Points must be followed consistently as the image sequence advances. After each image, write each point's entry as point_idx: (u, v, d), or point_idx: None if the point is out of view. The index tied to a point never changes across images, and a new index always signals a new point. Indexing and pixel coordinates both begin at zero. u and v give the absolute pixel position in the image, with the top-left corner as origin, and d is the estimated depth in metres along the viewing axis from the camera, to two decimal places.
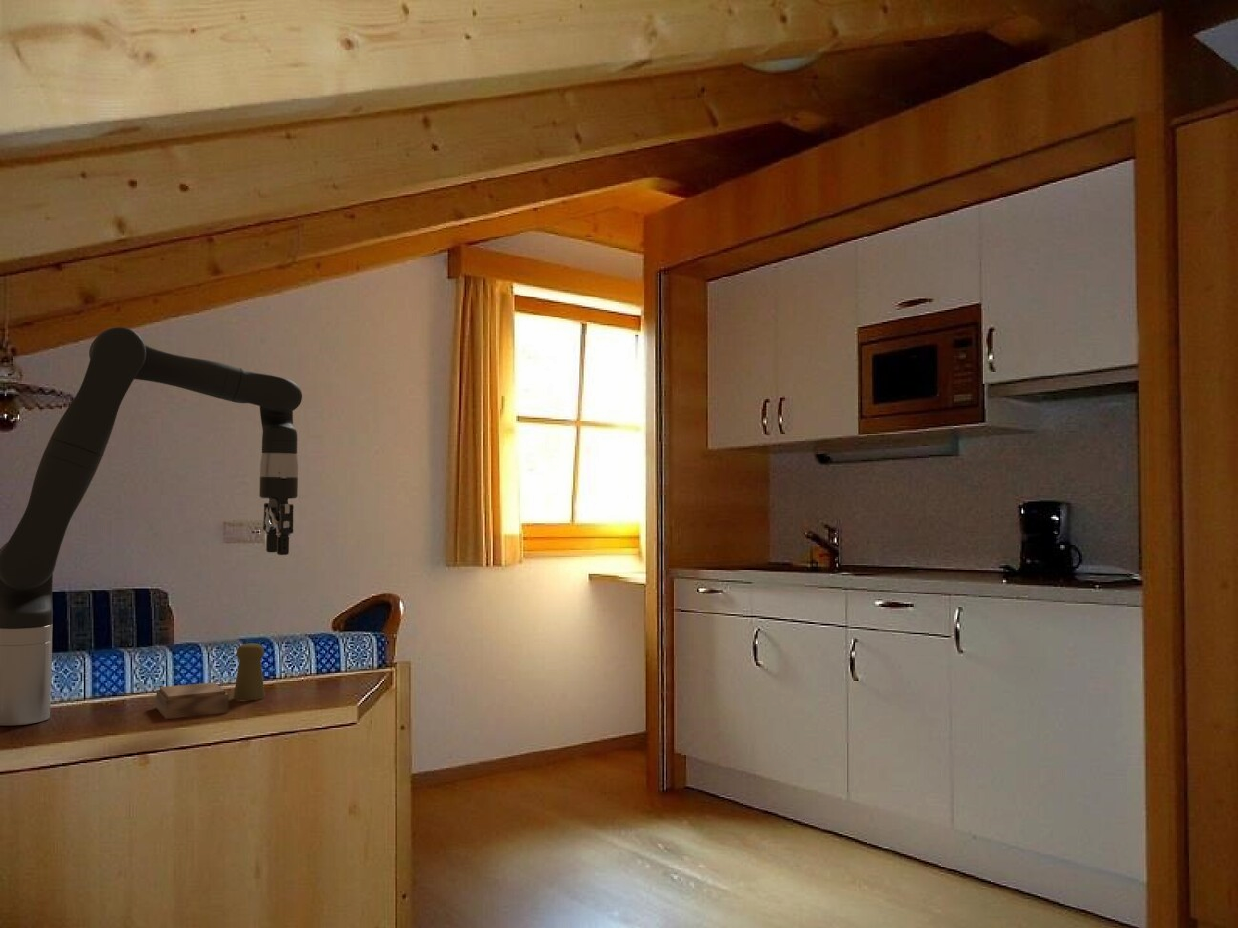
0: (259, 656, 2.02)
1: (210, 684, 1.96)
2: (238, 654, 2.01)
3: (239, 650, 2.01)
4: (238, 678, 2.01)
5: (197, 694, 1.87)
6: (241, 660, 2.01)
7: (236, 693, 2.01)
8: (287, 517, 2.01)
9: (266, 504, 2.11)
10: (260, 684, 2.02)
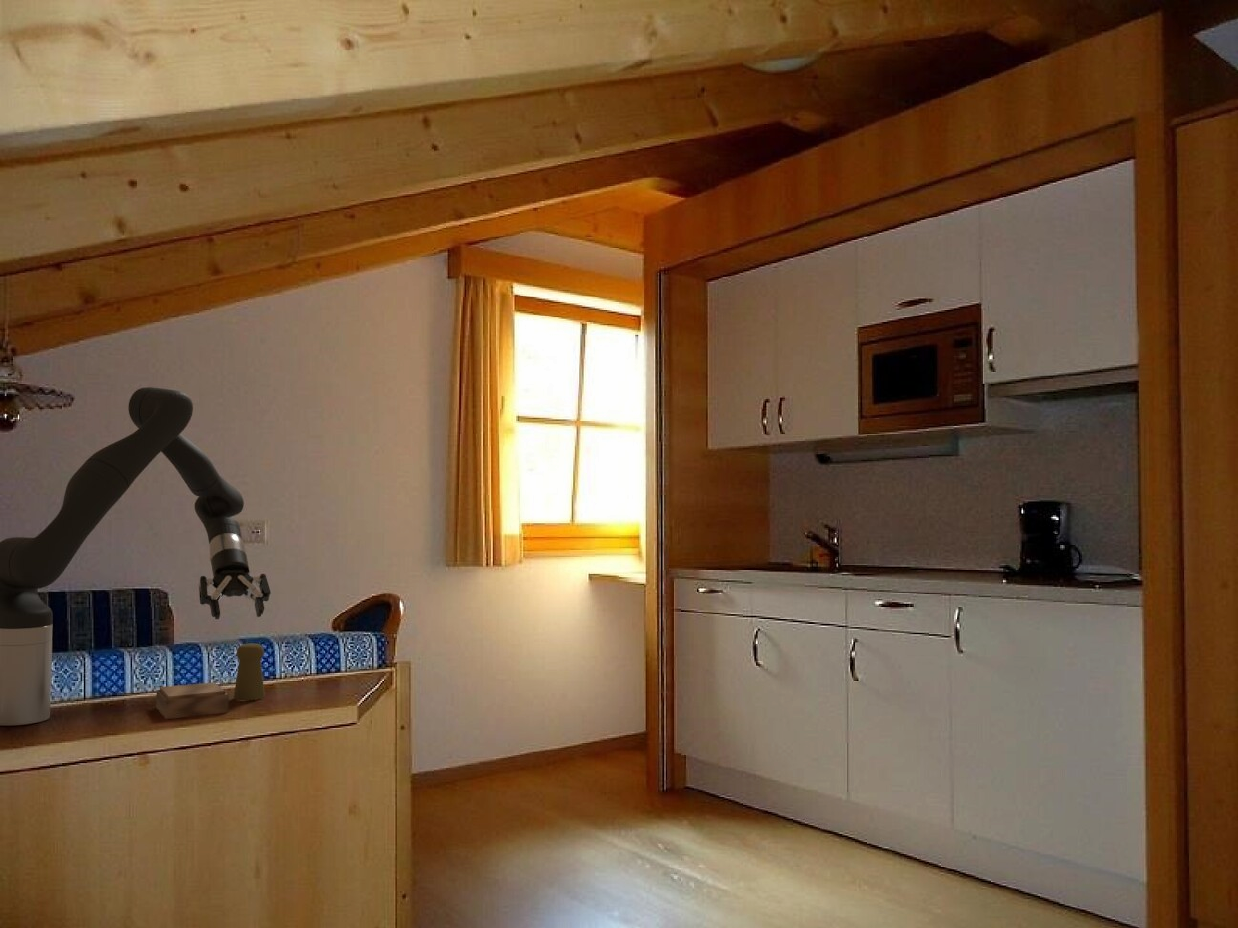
0: (259, 656, 2.02)
1: (210, 684, 1.96)
2: (238, 654, 2.01)
3: (239, 650, 2.01)
4: (238, 678, 2.01)
5: (197, 694, 1.87)
6: (241, 660, 2.01)
7: (236, 693, 2.01)
8: None
9: None
10: (260, 684, 2.02)
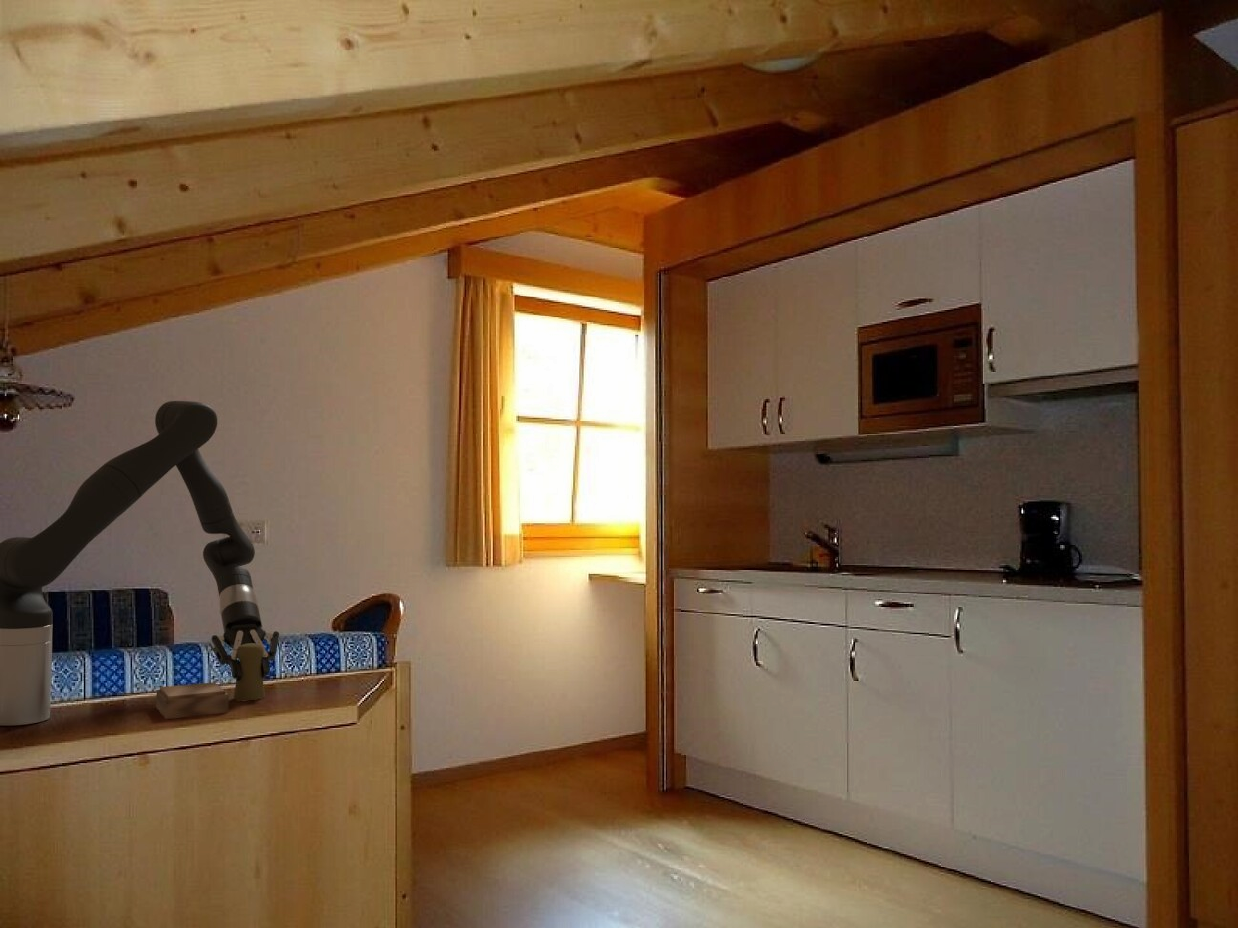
0: (259, 656, 2.02)
1: (210, 684, 1.96)
2: (238, 654, 2.01)
3: (239, 650, 2.01)
4: None
5: (197, 694, 1.87)
6: (241, 660, 2.01)
7: (236, 693, 2.01)
8: None
9: None
10: (260, 684, 2.02)
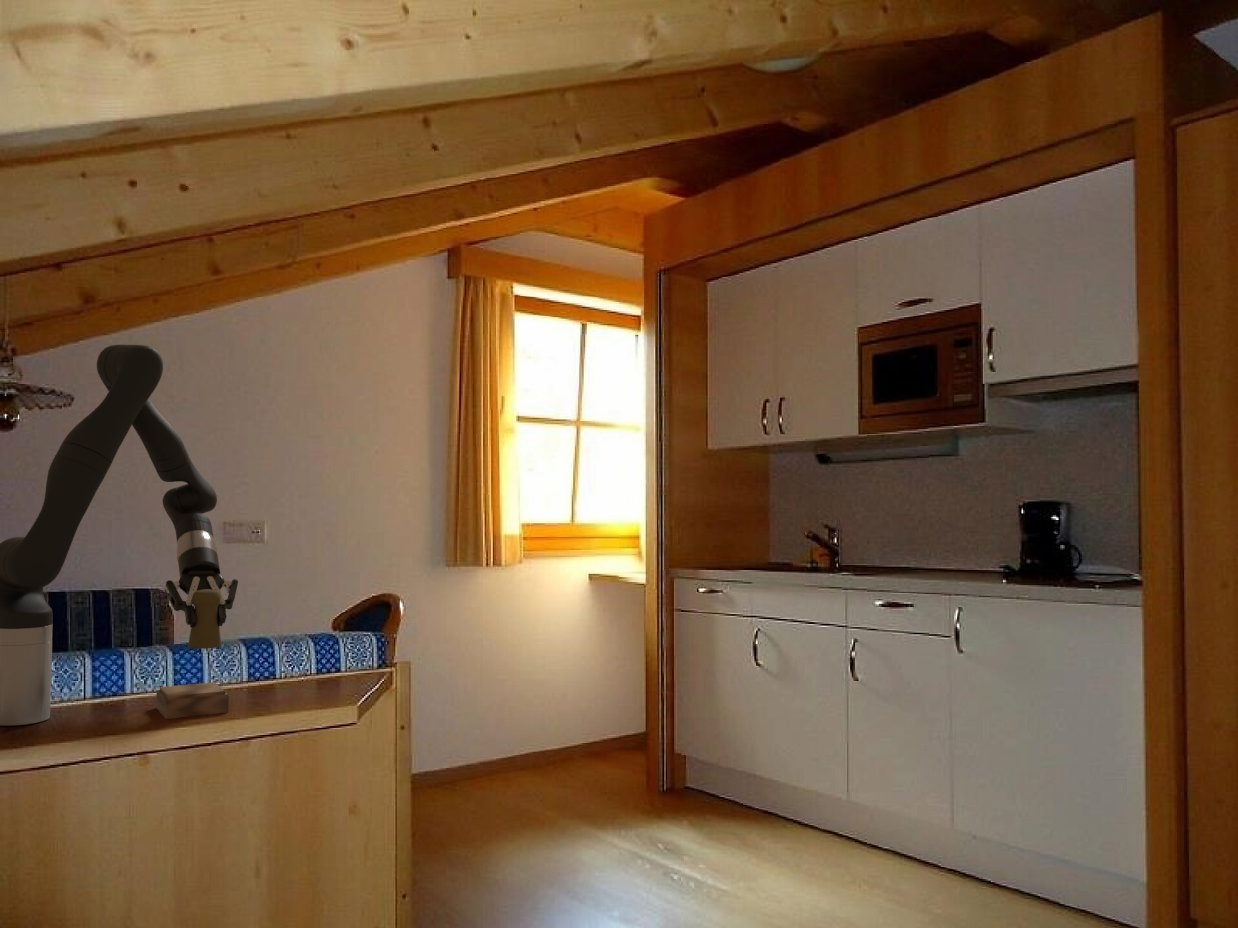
0: (215, 602, 1.93)
1: (210, 684, 1.96)
2: (193, 599, 1.92)
3: (194, 595, 1.93)
4: None
5: (197, 694, 1.87)
6: (196, 606, 1.92)
7: (190, 640, 1.92)
8: None
9: None
10: (216, 632, 1.93)
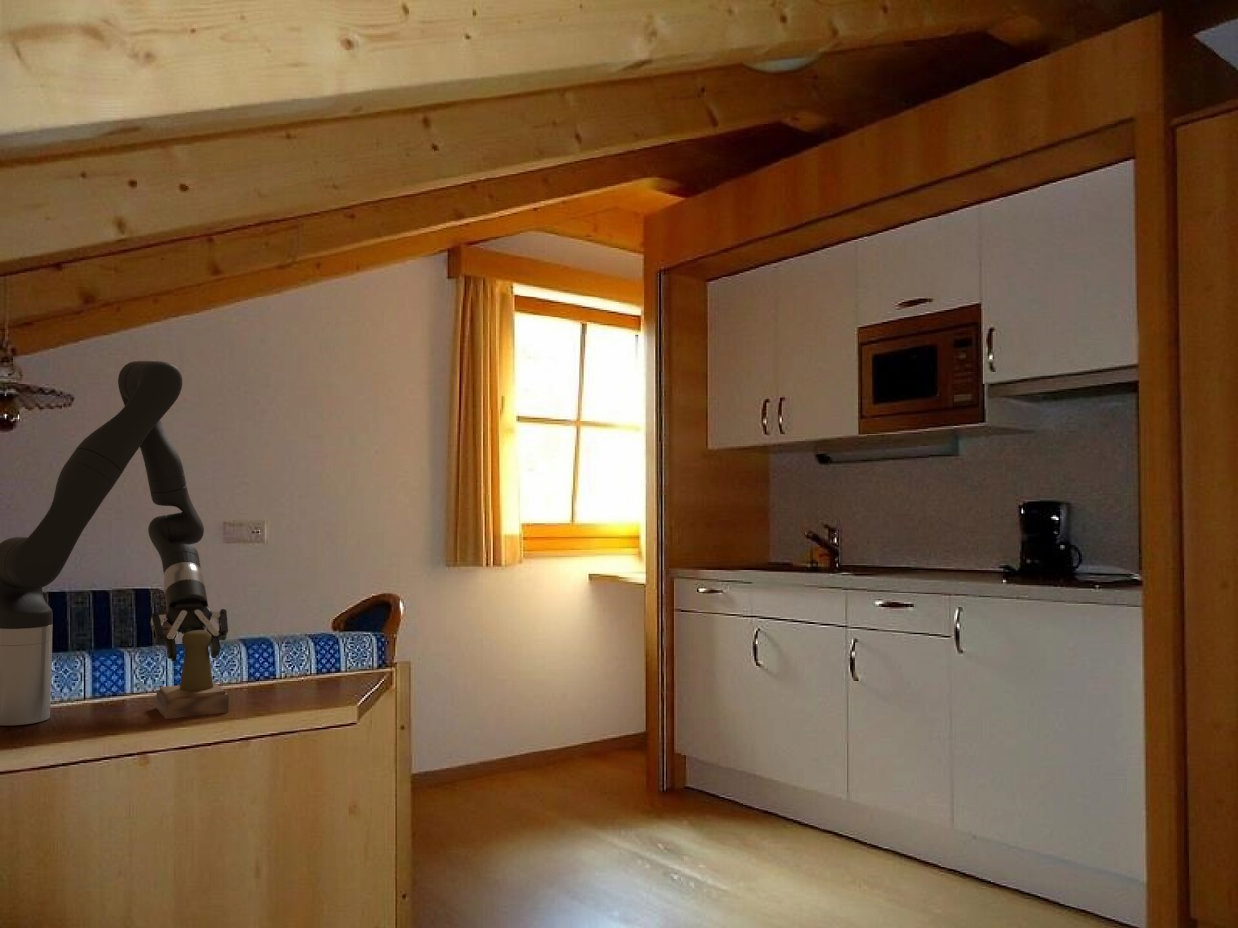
0: (206, 643, 1.92)
1: None
2: (183, 641, 1.91)
3: (184, 637, 1.91)
4: (184, 667, 1.91)
5: (197, 694, 1.87)
6: (187, 648, 1.91)
7: (182, 682, 1.90)
8: None
9: None
10: (208, 673, 1.92)
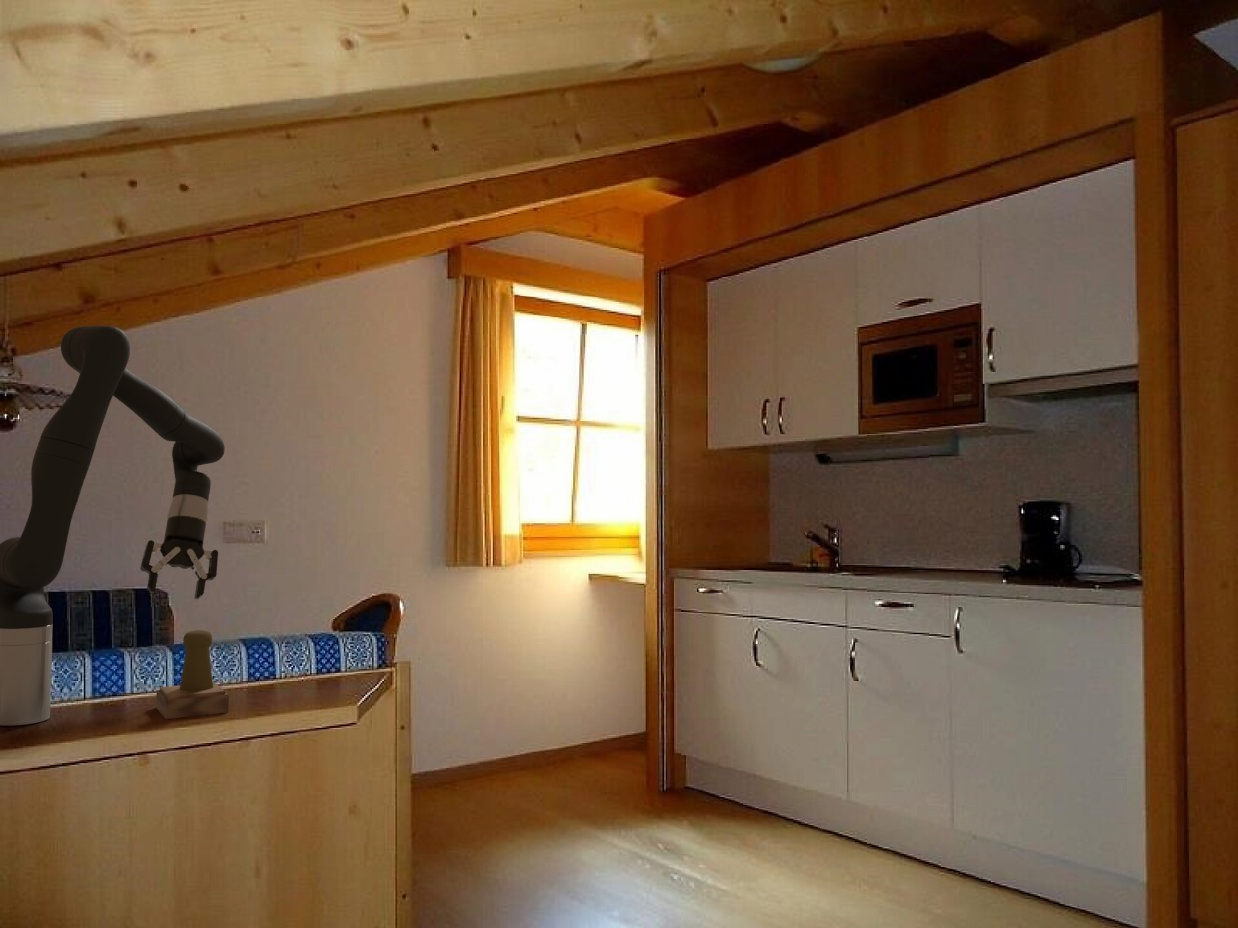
0: (207, 643, 1.92)
1: None
2: (184, 641, 1.91)
3: (185, 637, 1.91)
4: (184, 667, 1.91)
5: (197, 694, 1.87)
6: (188, 648, 1.91)
7: (182, 682, 1.91)
8: None
9: (153, 542, 2.03)
10: (208, 673, 1.92)
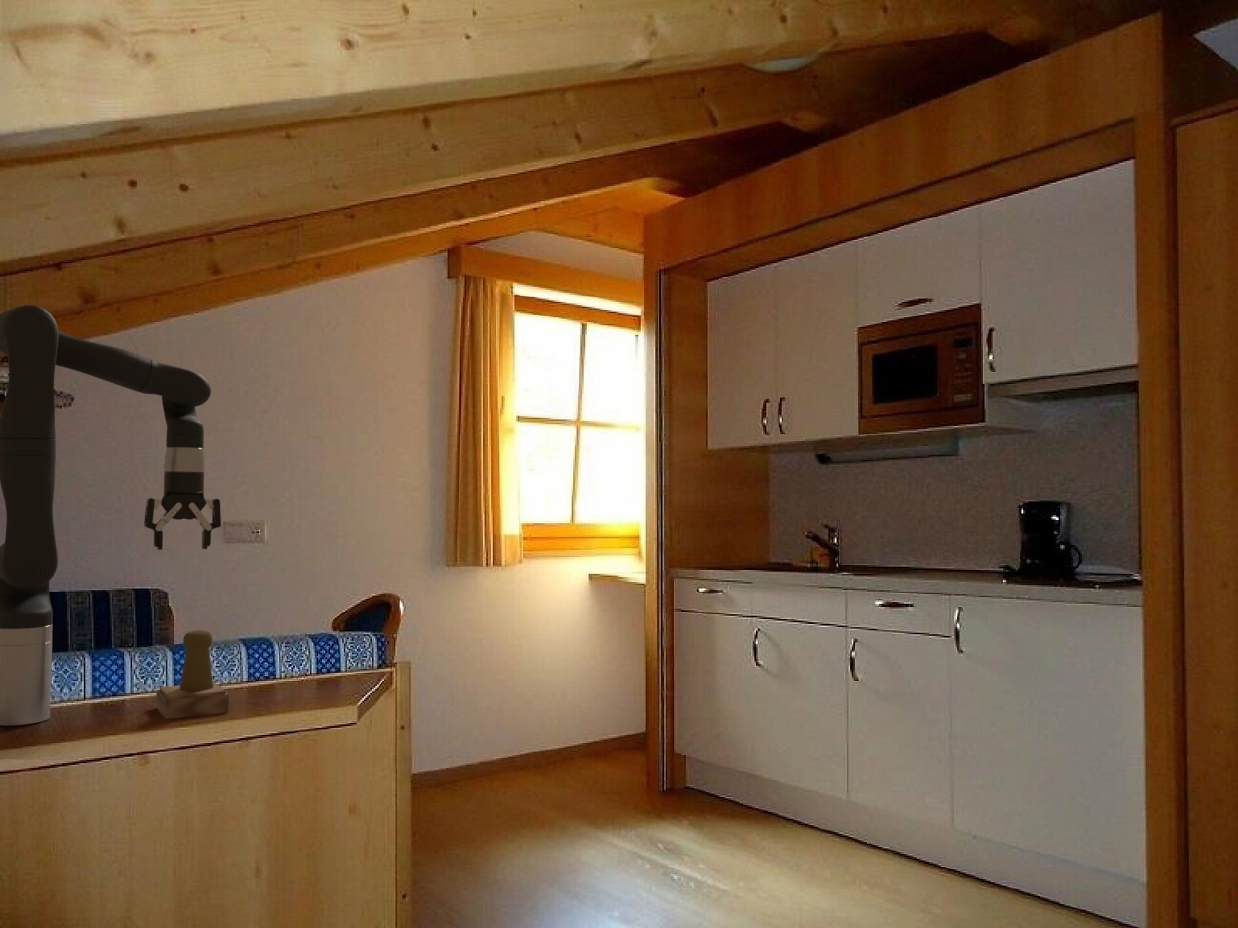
0: (207, 643, 1.92)
1: None
2: (184, 641, 1.91)
3: (185, 637, 1.91)
4: (184, 667, 1.91)
5: (197, 694, 1.87)
6: (188, 648, 1.91)
7: (182, 682, 1.91)
8: None
9: (153, 499, 2.00)
10: (208, 673, 1.92)
